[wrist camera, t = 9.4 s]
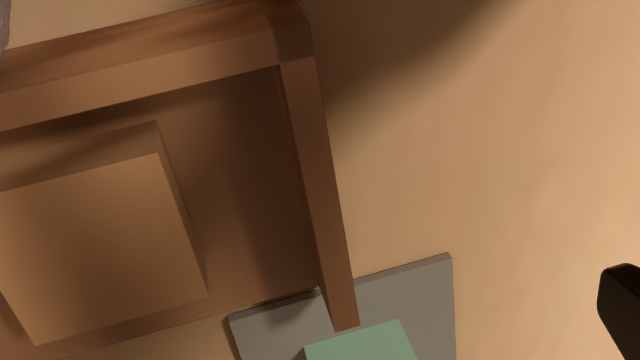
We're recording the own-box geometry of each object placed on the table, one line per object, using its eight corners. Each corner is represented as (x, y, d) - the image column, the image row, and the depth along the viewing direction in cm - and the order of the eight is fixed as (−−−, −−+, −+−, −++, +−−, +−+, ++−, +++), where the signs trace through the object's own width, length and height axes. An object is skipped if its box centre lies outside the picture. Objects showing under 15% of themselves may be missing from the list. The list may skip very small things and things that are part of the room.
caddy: (284, -14, 19) (308, 20, 16) (336, 266, 26) (360, 325, 23) (-257, 109, 17) (-336, 172, 15) (-50, 375, 24) (-77, 454, 21)
